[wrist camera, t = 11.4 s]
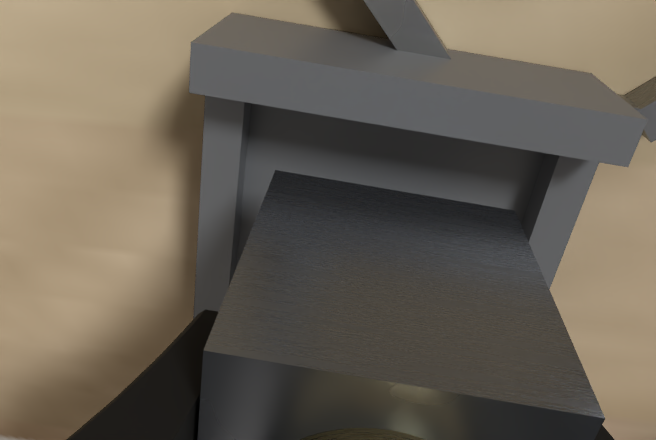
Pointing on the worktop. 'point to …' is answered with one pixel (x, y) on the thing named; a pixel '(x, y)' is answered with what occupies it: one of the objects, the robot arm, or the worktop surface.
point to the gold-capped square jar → (389, 325)
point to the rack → (392, 131)
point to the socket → (420, 37)
